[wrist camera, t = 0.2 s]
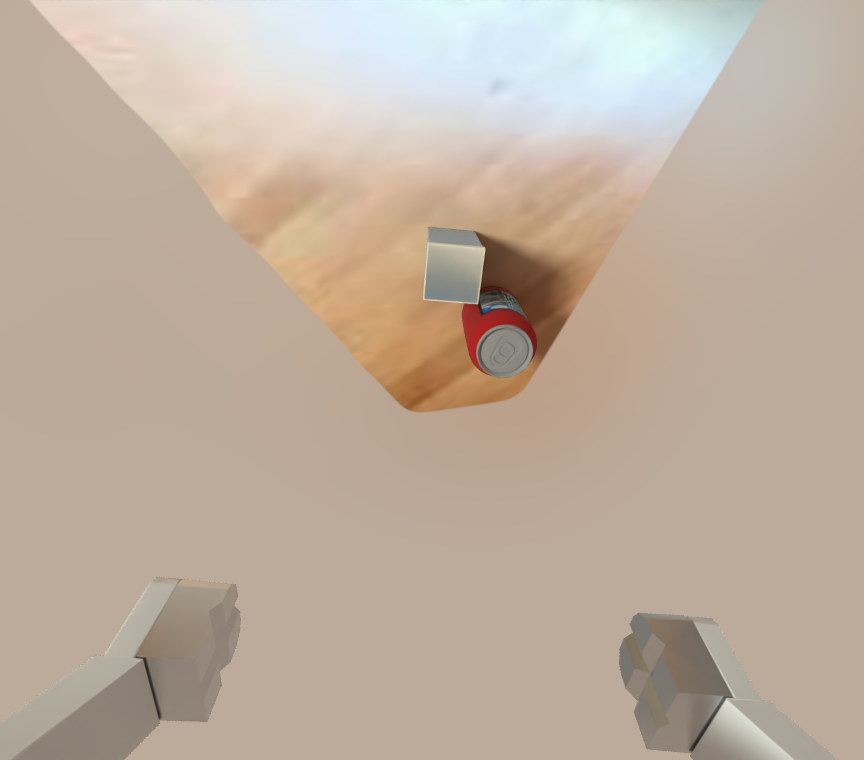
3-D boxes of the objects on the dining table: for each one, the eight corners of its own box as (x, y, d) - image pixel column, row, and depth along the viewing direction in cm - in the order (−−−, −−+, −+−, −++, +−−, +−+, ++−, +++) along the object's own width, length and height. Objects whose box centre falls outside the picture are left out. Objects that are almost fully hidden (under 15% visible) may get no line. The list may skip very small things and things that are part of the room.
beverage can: (530, 304, 57) (555, 343, 46) (495, 349, 59) (511, 396, 48) (483, 272, 55) (498, 305, 44) (449, 320, 57) (455, 362, 47)
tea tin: (427, 225, 53) (427, 243, 44) (475, 230, 53) (485, 248, 44) (423, 273, 55) (423, 299, 46) (469, 277, 55) (477, 304, 46)
